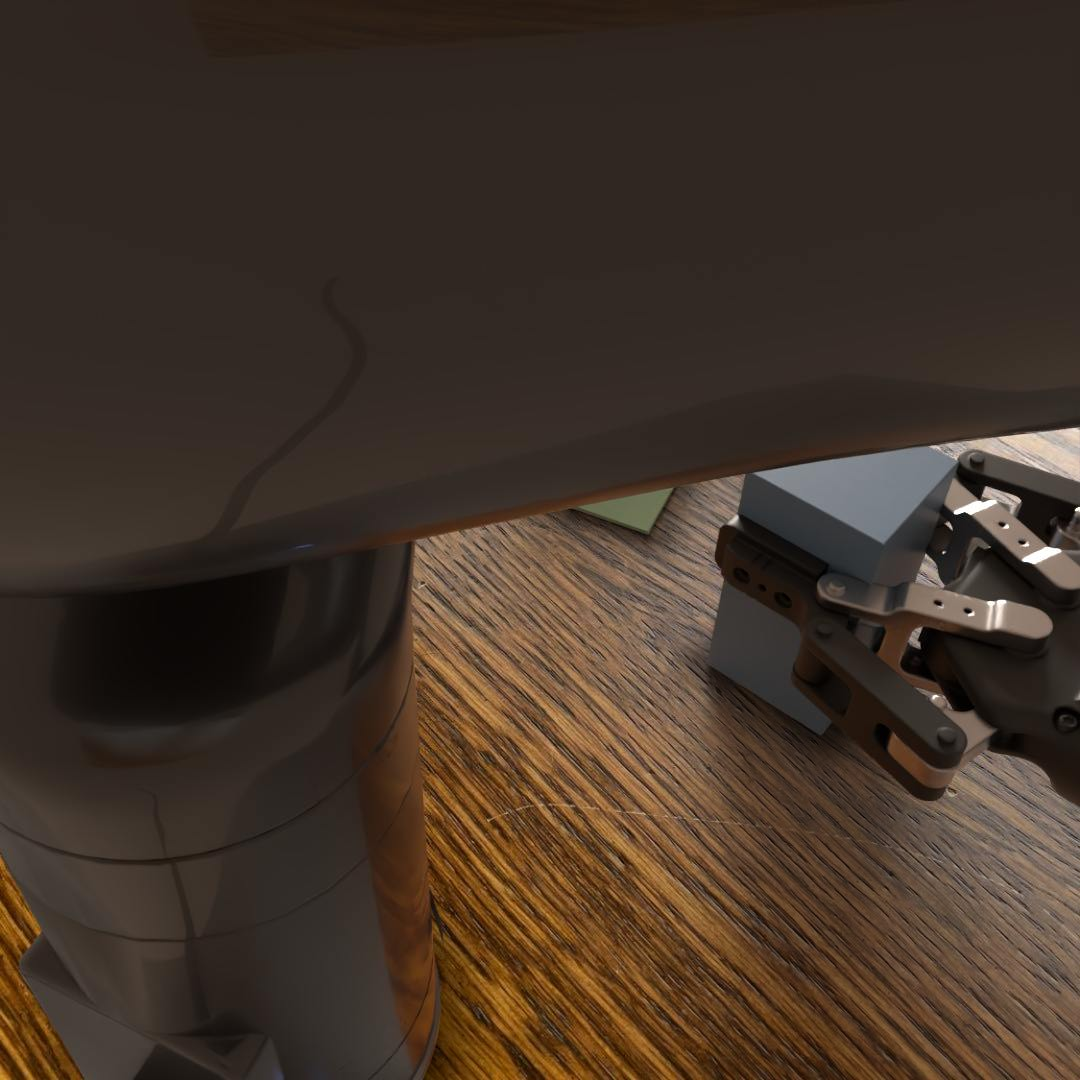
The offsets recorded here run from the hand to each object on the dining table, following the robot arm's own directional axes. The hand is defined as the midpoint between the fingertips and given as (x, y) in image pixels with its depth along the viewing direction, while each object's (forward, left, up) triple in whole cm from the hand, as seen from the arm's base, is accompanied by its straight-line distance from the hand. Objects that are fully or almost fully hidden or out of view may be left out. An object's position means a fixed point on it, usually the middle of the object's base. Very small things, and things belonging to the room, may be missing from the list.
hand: (769, 495), depth 44 cm
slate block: (-1, -3, -7) cm, 7 cm away
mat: (+8, +10, -7) cm, 15 cm away
